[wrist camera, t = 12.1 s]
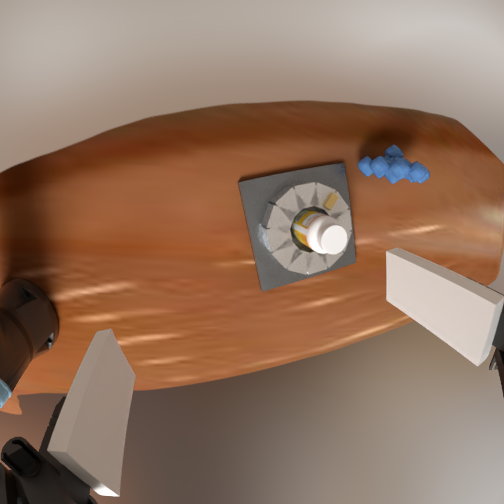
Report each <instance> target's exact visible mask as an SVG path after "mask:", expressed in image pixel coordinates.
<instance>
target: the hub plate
mask: <svg viewBox="0 0 504 504" xmlns="http://www.w3.org/2000/svg"><path fill="white" fill-rule="evenodd" d="M238 186H239V191H240V195H241V200H242V204H243V209H244V214H245V218H246V223H247V228H248V232H249V237H250V241H251V246H252V251H253V255H254V260H255V265H256V269H257V274H258V278H259V283H260V288H261V290H262V291H266V290H269V289H273V288H276V287H280V286H283V285H286V284H290V283H293V282H296V281H300V280H303V279H306V278H309V277H313V276H316V275H319V274H322V273H325V272H329V271H332V270H335V269H338V268H341V267H344V266H347V265H350V264H353V263H356V257H355V245H354V234H353V224H352V215H351V207H350V199H349V192H348V185H347V178H346V172H345V166H344V163H337V164H331V165H324V166H318V167H312V168H306V169H301V170H295V171H290V172H285V173H279V174H274V175H269V176H264V177H260V178H255V179H250V180H245V181H241V182H238ZM304 210H312V211H315V212H318V213H321V214H324V215H327V216H330V217H333V218H334V219H336V220H337V221H338V222H339V224H340V226H342V227H343V228H344V229H345V231H346V233H347V243H346V246H345V247H344V249H343V250H342V251H341V252H339V253H337V254H328V253H325V254H322V253H318V252H316V251H314V250H312V249H311V248H309V247H308V246H306V245H305V244H303V243H301V242H300V241H298V240H297V239H296V238H295V237H294V235H293V232H292V222H293V219H294V218H295V216H296V215H297V214H298V213H300V212H301V211H304Z"/></svg>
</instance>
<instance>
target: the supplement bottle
mask: <svg viewBox="0 0 504 504" xmlns="http://www.w3.org/2000/svg"><path fill="white" fill-rule="evenodd" d="M292 232H293V235H294V237H295V238H296V239H297V240H298V241H300V242H301V243H303V244H305V245H306V246H308V247H309V248H311V249H312V250H314V251H316V252H318V253H322V254H325V253H328V254H337V253H339V252H341V251H342V250H343V249H344V247H345V246H346V243H347V233H346V231H345V229H344V228H343V227H342V226H340V224H339V222H338V221H337V220H336V219H334V218H333V217H330V216H327V215H324V214H321V213H318V212H315V211H312V210H304V211H301V212H300V213H298V214H297V215H296V216H295V218H294V219H293V222H292Z"/></svg>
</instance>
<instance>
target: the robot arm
mask: <svg viewBox="0 0 504 504" xmlns="http://www.w3.org/2000/svg"><path fill="white" fill-rule="evenodd" d="M386 263H387V301H388V302H390V303H391V304H393V305H394V306H396V307H397V308H398V309H400V310H401V311H403V312H404V313H406V314H407V315H408V316H410V317H411V318H413V319H414V320H415V321H417V322H418V323H420V324H421V325H423V326H424V327H425V328H427V329H428V330H429V331H431V332H432V333H434V334H435V335H436V336H438V337H439V338H440V339H442V340H443V341H445V342H446V343H447V344H449V345H450V346H451V347H453V348H454V349H456V350H457V351H458V352H459V353H461V354H462V355H463V356H465V357H466V358H467V359H469V360H470V361H471V362H473V363H474V364H476V365H477V366H478V365H480V364H481V363H482V362H483V361H484V360H485V359H486V358H487V357H488V355H489V352H490V349H491V346H492V345H494V346H495V347H496V350H495V352H494V355H493V358H492V361H491V363H490V366H489V370H492V367H493V365H494V362H496V366H495V369H498V371H499V376H500V380H501V385H502V390H503V396H504V295H503V294H501V293H499V292H497V291H495V290H493V289H491V288H489V287H487V286H484V285H483V284H481V283H477V282H476V281H474V280H472V279H470V278H467V277H464V276H462V275H460V274H458V273H455V272H453V271H451V270H449V269H447V268H444V267H442V266H440V265H438V264H435V263H433V262H431V261H429V260H426V259H424V258H422V257H419V256H417V255H415V254H412V253H410V252H407V251H405V250H403V249H400V248H398V247H397V248H394V249H391V250H388V251H386ZM58 333H59V324H58V318H57V315H56V312H55V310H54V308H53V306H52V304H51V302H50V301H49V299H48V298H47V296H46V295H45V294H44V293H43V292H42V291H41V290H40V289H39V288H38V287H37V286H36V285H34V284H33V283H31V282H29V281H27V280H24V279H13V280H11V281H9V282H8V283H6V284H5V285H4V286H3V287H2V288H1V289H0V408H1V407H2V406H3V405H4V404H5V402H6V401H7V400H8V398H9V397H11V395H12V392H13V390H14V388H15V386H16V385H17V383H18V381H19V380H20V378H21V376H22V375H23V373H24V371H25V370H26V368H27V367H28V365H29V364H30V362H31V361H32V360H33V359H34V358H36V357H38V356H40V355H42V354H44V353H45V352H47V351H48V350H50V349H51V347H52V346H53V344H54V343H55V341H56V340H57V337H58ZM135 377H136V375H135V374H134V372H133V370H132V368H131V367H130V365H129V363H128V361H127V359H126V357H125V356H124V354H123V352H122V350H121V348H120V346H119V344H118V342H117V340H116V338H115V336H114V334H113V332H112V330H111V329H107V330H102V331H97V332H96V334H95V336H94V338H93V340H92V342H91V344H90V346H89V348H88V350H87V352H86V354H85V357H84V359H83V361H82V363H81V365H80V367H79V369H78V372H77V374H76V376H75V378H74V381H73V383H72V385H71V388H70V390H69V392H68V395H67V396H66V397H63V398H62V399H61V401H60V402H59V403H58V404H57V405H56V407H55V410H54V412H53V415H52V418H51V419H50V422H49V426H48V427H47V430H46V433H45V435H44V438H43V441H42V444H41V447H40V449H39V452H38V451H37V450H36V449H35V448H33V447H32V445H30V443H29V442H28V441H27V440H26V439H24V438H22V437H14V438H12V439H10V440H9V441H8V442H7V443H6V444H5V445H4V447H3V449H2V452H1V460H2V461H3V462H4V463H5V464H6V465H7V466H8V467H9V468H10V469H12V470H8V469H7V468H6V467H5V466H4V465H2V463H0V504H97V502H96V501H95V499H94V498H93V497H92V496H90V495H89V493H90V488H92V489H93V490H94V491H96V492H97V493H98V494H100V495H107V496H120V482H121V470H122V461H123V451H124V444H125V436H126V428H127V422H128V416H129V410H130V404H131V398H132V392H133V387H134V382H135Z"/></svg>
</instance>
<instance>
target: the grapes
mask: <svg viewBox="0 0 504 504" xmlns="http://www.w3.org/2000/svg"><path fill="white" fill-rule="evenodd" d="M402 158H403V152H402V151H401V150H400V149H399V148H398V147H397V146H396V145H392V146H390V147H389V148H387V149H386V151H385V157H383V156H379V157H377V158H375V159H374V160H372V159H371V158H370V157H368V156H366V157H365V158H363V159H361V160H360V161H359V162H358V164H357V165H358V169H359V170H360V171H361V172H362V173H363V174H364V175H366V176H367V177H368V176H370V175H372V174H374V175H375V176H376V177H378V178H381V177H383V176H385V177H386V178H387V180H388V181H389V182H391V183H392V184H394V183H396V182H397V181H399V180H400V179H401V178H402V179H404V178H405V179H408V180H409V181H410V182H411V183H413V182H419V183H422V182H424V181H426V180H427V179H428V178H429V177H430V173H429V171H428V170H427V168H426V167H425V166H423V165H422V164H420V163H418V162H417V161H416V162H414V163H412V164H411V163H410V162H409V161H408V160H407V159H405V158H403V159H402Z"/></svg>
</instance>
